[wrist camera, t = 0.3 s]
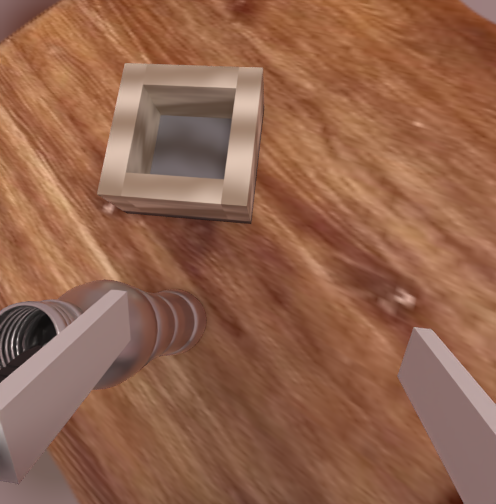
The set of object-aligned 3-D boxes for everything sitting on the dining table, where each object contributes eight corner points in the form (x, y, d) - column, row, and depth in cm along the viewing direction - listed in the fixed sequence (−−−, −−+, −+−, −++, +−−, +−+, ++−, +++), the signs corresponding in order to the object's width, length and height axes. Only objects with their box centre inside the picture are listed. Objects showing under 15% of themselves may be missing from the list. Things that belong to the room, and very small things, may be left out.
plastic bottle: (153, 290, 32) (-40, 268, 13) (212, 290, 32) (102, 266, 12) (150, 350, 31) (-69, 426, 12) (211, 351, 30) (86, 434, 11)
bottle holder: (251, 223, 33) (246, 206, 27) (126, 213, 34) (97, 194, 28) (264, 107, 35) (263, 67, 30) (148, 101, 37) (124, 63, 31)
